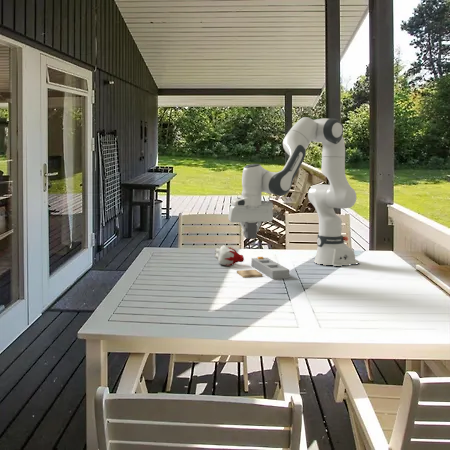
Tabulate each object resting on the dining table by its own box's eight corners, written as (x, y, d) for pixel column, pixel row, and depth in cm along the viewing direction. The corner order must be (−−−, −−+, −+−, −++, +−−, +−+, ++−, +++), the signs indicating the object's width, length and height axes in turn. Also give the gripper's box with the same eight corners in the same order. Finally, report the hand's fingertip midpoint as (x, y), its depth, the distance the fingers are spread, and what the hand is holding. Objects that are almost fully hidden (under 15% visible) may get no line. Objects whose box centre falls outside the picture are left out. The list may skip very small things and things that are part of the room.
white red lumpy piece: (213, 260, 269) (243, 265, 268) (210, 265, 258) (241, 270, 257) (216, 243, 268) (246, 247, 267) (213, 247, 257) (244, 252, 256)
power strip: (262, 262, 270) (262, 253, 269) (289, 278, 240) (289, 268, 239) (247, 263, 267) (247, 254, 266) (272, 279, 237) (272, 269, 236)
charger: (253, 236, 244) (253, 220, 243) (256, 238, 240) (256, 221, 239) (244, 236, 243) (244, 220, 242) (247, 238, 239) (248, 221, 238)
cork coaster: (255, 271, 250) (255, 269, 250) (262, 276, 242) (262, 274, 241) (236, 272, 247) (236, 270, 247) (243, 277, 239) (243, 275, 239)
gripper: (270, 199, 245) (269, 230, 248) (227, 200, 239) (226, 231, 241) (275, 201, 240) (274, 232, 242) (232, 202, 233) (231, 233, 235)
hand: (250, 231), depth 241 cm, fingers closed on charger, 4 cm apart
